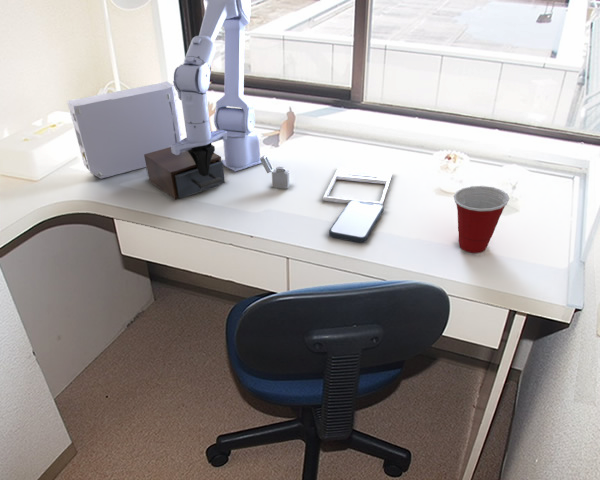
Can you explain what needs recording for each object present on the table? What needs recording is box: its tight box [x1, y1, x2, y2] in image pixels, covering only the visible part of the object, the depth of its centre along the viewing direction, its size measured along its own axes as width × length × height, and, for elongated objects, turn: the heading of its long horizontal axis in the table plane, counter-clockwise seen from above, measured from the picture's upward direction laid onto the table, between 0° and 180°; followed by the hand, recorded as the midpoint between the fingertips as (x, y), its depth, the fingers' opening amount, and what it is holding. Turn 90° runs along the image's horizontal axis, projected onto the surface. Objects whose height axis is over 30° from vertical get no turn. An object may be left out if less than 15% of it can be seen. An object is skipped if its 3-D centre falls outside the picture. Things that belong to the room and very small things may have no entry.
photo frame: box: [322, 167, 393, 206], centre depth 142 cm, size 15×1×18 cm
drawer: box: [174, 160, 226, 199], centre depth 142 cm, size 18×13×6 cm
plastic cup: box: [453, 185, 510, 254], centre depth 116 cm, size 11×11×12 cm
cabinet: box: [144, 147, 222, 200], centre depth 145 cm, size 14×14×7 cm
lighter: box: [260, 154, 290, 190], centre depth 142 cm, size 7×2×8 cm, turn 74°
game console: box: [66, 81, 182, 179], centre depth 150 cm, size 6×27×20 cm, turn 124°
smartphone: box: [328, 200, 385, 244], centre depth 127 cm, size 9×2×16 cm
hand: (203, 174), depth 137 cm, fingers closed
